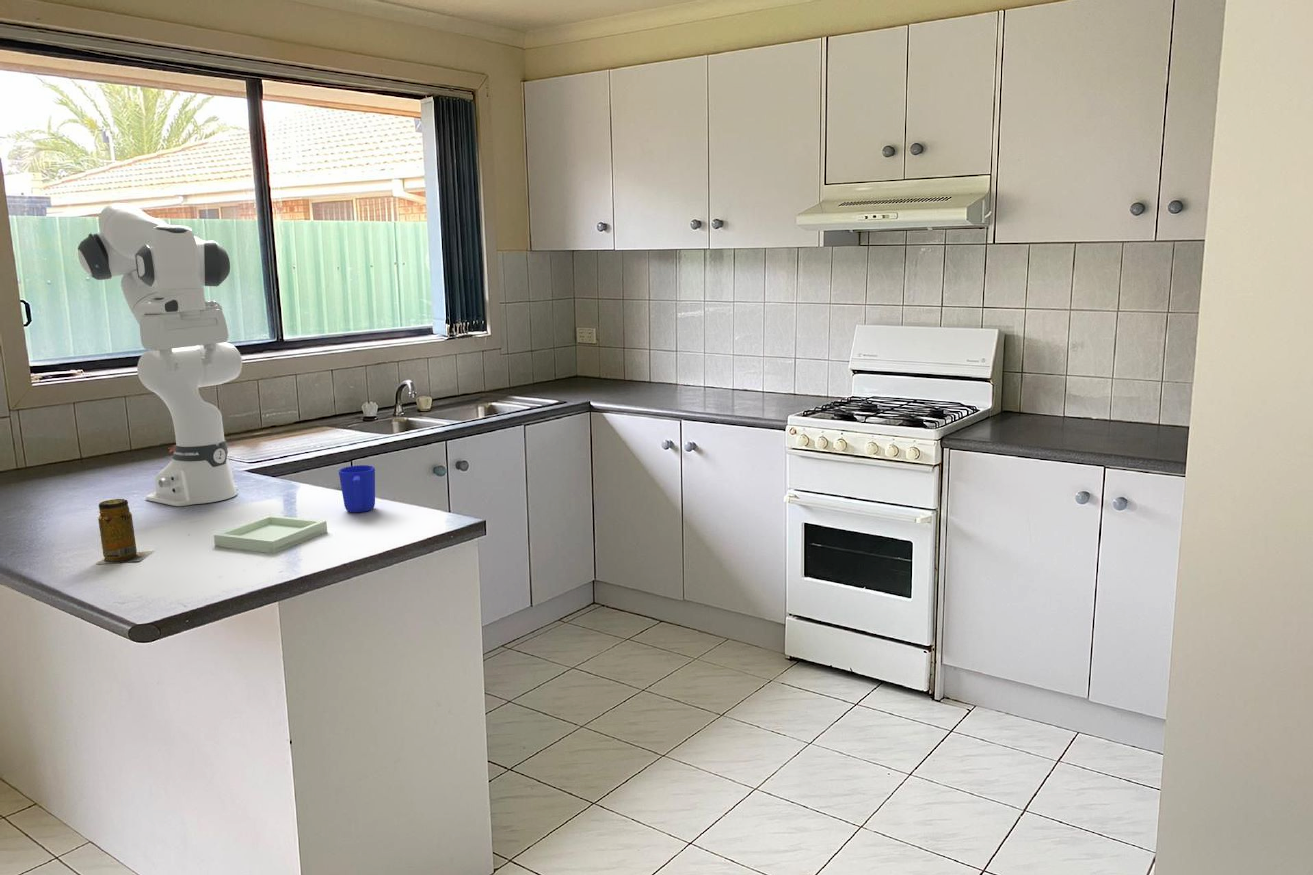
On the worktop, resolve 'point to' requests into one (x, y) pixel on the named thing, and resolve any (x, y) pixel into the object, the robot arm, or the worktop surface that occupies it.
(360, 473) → the mug
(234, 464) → the worktop surface
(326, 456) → the worktop surface
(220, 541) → the tray
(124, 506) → the condiment
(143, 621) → the worktop surface
